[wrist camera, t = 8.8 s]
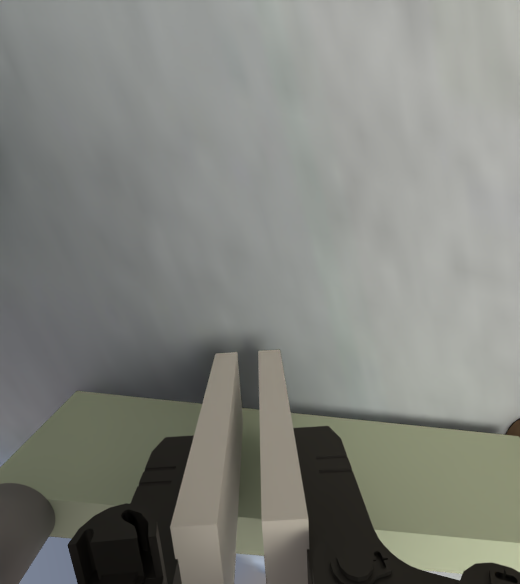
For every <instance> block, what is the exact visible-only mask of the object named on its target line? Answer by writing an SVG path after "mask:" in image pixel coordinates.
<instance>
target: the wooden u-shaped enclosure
mask: <svg viewBox="0 0 520 584" xmlns="http://www.w3.org/2000/svg"><path fill="white" fill-rule="evenodd" d="M506 435H512V436H519V437H520V419H519V420H517V421H516V422H515V423H514V424H513V425H512V426H511V427H510V428H509V430H508V432H507V434H506Z"/></svg>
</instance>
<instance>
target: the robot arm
mask: <svg viewBox="0 0 520 584" xmlns="http://www.w3.org/2000/svg"><path fill="white" fill-rule="evenodd" d="M258 364H259V414H260V465H261V515H262V533H263V546H264V559H265V573H266V584H520V572H518V571H517V570H515V569H513V568H510V567H507V566H503V565H500V564H496V563H492V562H490V563H475V564H474V565H472V566H471V567H469V568H468V569H466V570H465V571H464V572H463V575H462V577H461V580H460V581H459V580H455V579H451V578H448V577H444V576H440V575H437V574H433V573H429V572H426V571H423V570H420V569H417V568H415V567H412V566H410V565H408V564H406V563H405V562H403V561H402V560H400V559H398V558H397V557H396V556H395V555H393V554H392V553H391V552H390V551H389V550H388V549H387V548H386V547H385V546H384V545H383V543H382V542H381V541H380V539H379V538H378V536H377V534H376V532H375V530H374V528H373V525H372V523H371V520H370V517H369V514H368V512H367V509H366V506H365V503H364V501H363V498H362V495H361V492H360V489H359V487H358V484H357V481H356V478H355V476H354V473H353V472H352V467H351V465H350V462H349V459H348V458H347V454H346V451H345V448H344V445H343V443H342V440H341V438H340V437H339V436H338V435H337V434H336V433H335V432H334V431H333V430H332V429H331V428H330V427H329V426H317V427H300V428H293V424H292V418H291V412H290V406H289V400H288V394H287V388H286V382H285V376H284V370H283V364H282V358H281V352H280V350H264V351H258ZM242 431H243V414H242V402H241V390H240V378H239V367H238V355H237V352H232V353H216V354H215V357H214V361H213V365H212V369H211V373H210V376H209V380H208V384H207V388H206V392H205V395H204V399H203V403H202V407H201V411H200V415H199V418H198V422H197V426H196V430H195V434H194V435H193V436H177V437H165V438H164V439H163V440H162V441H161V442H160V443H159V444H158V446H157V447H156V448H155V449H154V450H153V451H152V452H151V455H150V457H149V459H148V462H147V464H146V467H145V472H143V474H142V476H141V479H140V481H139V486H137V489H136V491H135V493H134V496H133V498H132V501H131V503H130V504H128V503H126V504H122V505H118V506H113V507H110V508H108V509H106V510H104V511H102V512H100V513H98V514H97V515H95V516H93V517H92V518H91V519H90V520H89V521H87V522H86V523H85V524H84V525H83V526H82V527H80V528H79V529H78V531H77V532H76V534H75V535H74V536H73V538H72V540H71V541H70V542H69V544H68V548H69V552H70V556H71V560H72V564H73V567H74V571H75V575H76V578H77V582H78V584H234V577H235V559H236V540H237V522H238V504H239V486H240V468H241V450H242Z"/></svg>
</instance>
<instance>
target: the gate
mask: <svg viewBox="0 0 520 584" xmlns="http://www.w3.org/2000/svg"><path fill="white" fill-rule="evenodd" d="M201 407H202V404H200V403H190V402H180V401H171V400H161V399H151V398H141V397H132V396H122V395H112V394H102V393H93V392H83V391H76V392H75V393H74V394H73V395H72V396H71V397H70V398H69V399H68V400H67V401H66V402H65V403H64V404H63V405H62V406H61V407H60V408H59V409H58V410H57V411H56V412H55V413H54V414H53V415H52V416H51V417H50V418H49V419H48V420H47V421H46V422H45V423H44V424H43V425H42V426H41V427H40V428H39V429H38V430H37V431H36V432H35V433H34V434H33V435H32V436H31V437H30V438H29V439H28V440H27V441H26V442H25V443H24V444H23V445H22V446H21V447H20V448H19V449H18V450H17V451H16V452H15V453H14V454H13V455H12V456H11V457H10V458H9V459H8V460H7V461H6V462H5V463H4V464H3V465H2V466H1V467H0V584H19V582H20V581H21V579H22V578H23V576H24V574H25V573H26V571H27V570H28V568H29V566H30V565H31V563H32V562H33V560H34V559H35V557H36V556H37V554H38V553H39V551H40V550H41V548H42V546H43V545H44V543H45V541H46V540H47V538H48V537H50V536H51V537H61V538H73V536H74V535H75V534H76V532H77V531H78V529H79V528H80V527H82V526H83V525H84V524H85V523H86V522H87V521H89V520H90V519H91V518H92V517H93V516H95V515H97V514H98V513H100V512H102V511H104V510H106V509H108V508H110V507H113V506H118V505H122V504H126V503H128V504H130V503H131V501H132V498H133V496H134V493H135V491H136V489H137V486H139V481H140V479H141V476H142V474H143V472H145V467H146V464H147V462H148V459H149V457H150V455H151V452H152V451H153V450H154V449H155V448H156V447H157V446H158V444H159V443H160V442H161V441H162V440H163V439H164V438H165V437H177V436H193V435H194V434H195V430H196V426H197V422H198V418H199V415H200V411H201ZM242 414H243V431H242V450H241V468H240V486H239V504H238V522H237V540H236V553H238V554H249V555H260V556H264V546H263V533H262V515H261V465H260V414H259V410H258V409H249V408H242ZM291 418H292V424H293V428H300V427H317V426H329V427H330V428H331V429H332V430H333V431H334V432H335V433H336V434H337V435H338V436H339V437H340V438H341V440H342V443H343V445H344V448H345V451H346V454H347V458H348V459H349V462H350V465H351V467H352V472H353V473H354V476H355V478H356V481H357V484H358V487H359V489H360V492H361V495H362V498H363V501H364V503H365V506H366V509H367V512H368V514H369V517H370V520H371V523H372V525H373V528H374V530H375V532H376V534H377V536H378V538H379V539H380V541H381V542H382V543H383V545H384V546H385V547H386V548H387V549H388V550H389V551H390V552H391V553H392V554H393V555H395V556H396V557H397V558H398V559H400V560H402V561H403V562H405V563H406V564H408V565H410V566H412V567H415V568H417V569H420V570H427V571H438V572H449V573H460V574H463V572H464V571H465V570H466V569H468V568H469V567H471V566H472V565H474V564H475V563H490V562H492V563H496V564H500V565H503V566H507V567H510V568H513V569H515V570H517V571H518V572H520V437H519V436H512V435H502V434H492V433H483V432H473V431H463V430H453V429H444V428H434V427H424V426H414V425H405V424H395V423H385V422H375V421H366V420H356V419H346V418H336V417H327V416H317V415H307V414H297V413H291Z"/></svg>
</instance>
